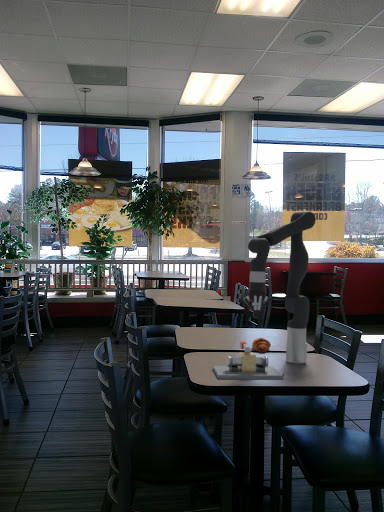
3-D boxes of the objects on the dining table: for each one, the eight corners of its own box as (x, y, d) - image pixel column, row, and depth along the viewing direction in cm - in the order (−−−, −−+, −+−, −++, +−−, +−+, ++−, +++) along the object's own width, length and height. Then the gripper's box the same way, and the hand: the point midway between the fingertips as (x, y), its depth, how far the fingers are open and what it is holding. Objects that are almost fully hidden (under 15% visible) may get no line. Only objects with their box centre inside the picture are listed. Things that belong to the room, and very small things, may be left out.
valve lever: (251, 353, 201) (251, 347, 201) (245, 353, 201) (245, 347, 201) (244, 346, 214) (244, 341, 214) (239, 346, 214) (239, 340, 214)
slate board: (273, 369, 211) (273, 366, 211) (282, 379, 196) (282, 375, 196) (213, 369, 208) (213, 366, 208) (218, 378, 193) (218, 375, 193)
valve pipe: (264, 369, 206) (265, 352, 206) (268, 372, 200) (269, 355, 200) (226, 368, 204) (226, 352, 204) (228, 372, 198) (229, 355, 198)
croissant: (254, 351, 266) (248, 338, 266) (270, 343, 265) (263, 331, 266) (257, 358, 245) (250, 345, 245) (274, 350, 244) (267, 337, 245)
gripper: (269, 280, 218) (267, 317, 218) (241, 280, 216) (240, 316, 217) (273, 282, 210) (272, 319, 211) (245, 281, 209) (244, 319, 209)
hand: (256, 318), depth 214 cm, fingers closed
